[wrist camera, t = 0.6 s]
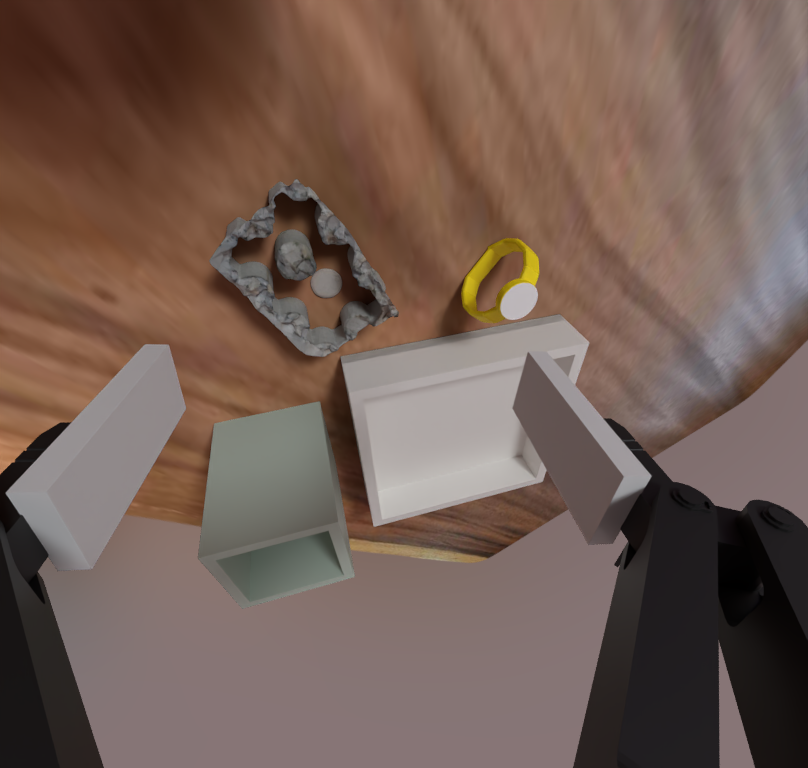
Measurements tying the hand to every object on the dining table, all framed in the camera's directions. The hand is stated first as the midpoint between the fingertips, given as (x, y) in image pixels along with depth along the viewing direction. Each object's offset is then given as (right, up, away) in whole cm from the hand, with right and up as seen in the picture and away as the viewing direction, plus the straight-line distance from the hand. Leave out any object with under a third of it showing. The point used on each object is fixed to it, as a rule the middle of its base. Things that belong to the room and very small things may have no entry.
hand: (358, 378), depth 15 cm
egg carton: (-5, +8, +12) cm, 16 cm away
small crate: (-10, -6, +23) cm, 25 cm away
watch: (+8, +9, +16) cm, 20 cm away
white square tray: (+7, -3, +26) cm, 27 cm away
